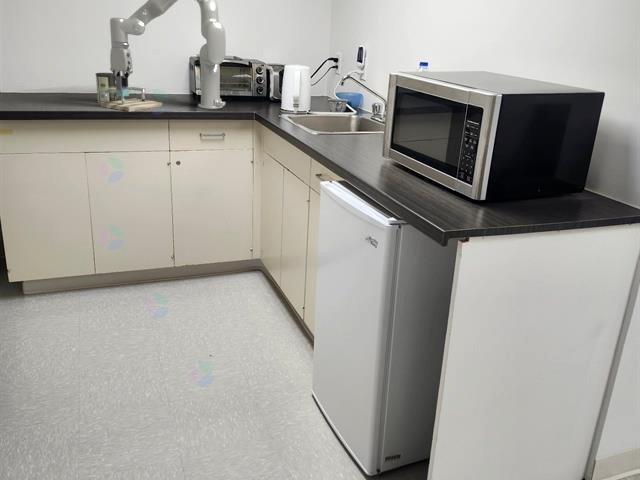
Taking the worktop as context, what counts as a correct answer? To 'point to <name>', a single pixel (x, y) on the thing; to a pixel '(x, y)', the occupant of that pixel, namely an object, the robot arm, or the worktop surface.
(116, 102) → the hole plate
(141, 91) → the divider frame
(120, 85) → the block
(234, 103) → the worktop surface
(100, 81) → the coffee can
